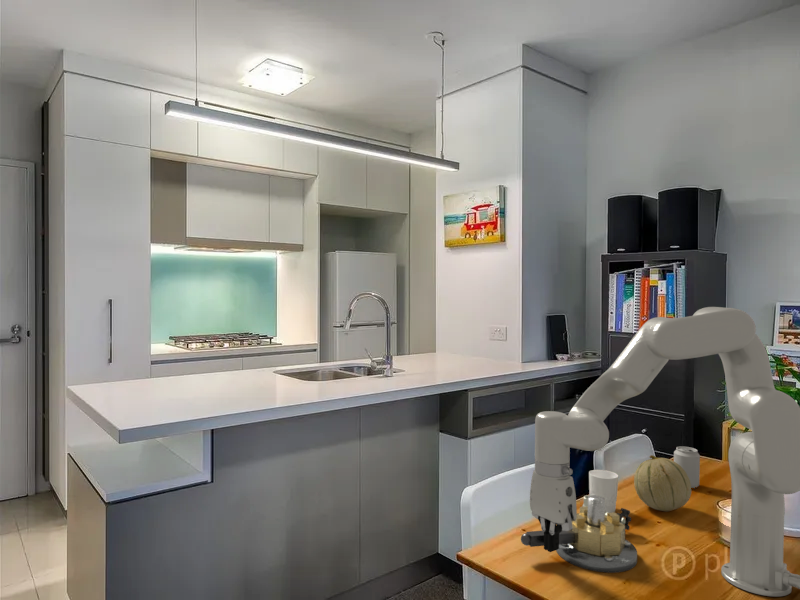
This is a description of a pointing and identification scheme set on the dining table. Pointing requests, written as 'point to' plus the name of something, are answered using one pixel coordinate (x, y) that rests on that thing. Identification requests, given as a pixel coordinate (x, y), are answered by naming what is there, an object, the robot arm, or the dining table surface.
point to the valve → (623, 514)
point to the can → (689, 463)
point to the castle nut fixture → (587, 535)
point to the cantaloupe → (662, 484)
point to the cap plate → (593, 561)
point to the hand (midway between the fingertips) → (551, 549)
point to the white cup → (604, 487)
